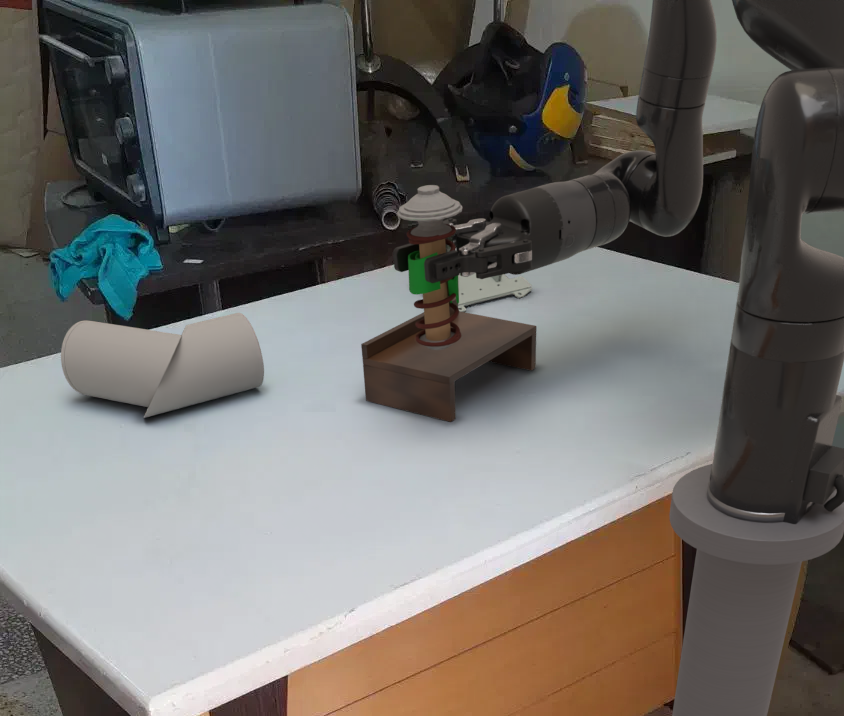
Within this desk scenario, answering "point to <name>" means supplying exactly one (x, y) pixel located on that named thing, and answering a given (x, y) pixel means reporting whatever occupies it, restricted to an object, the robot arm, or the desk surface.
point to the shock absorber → (432, 241)
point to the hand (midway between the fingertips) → (411, 266)
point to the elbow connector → (163, 362)
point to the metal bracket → (489, 288)
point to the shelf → (440, 361)
